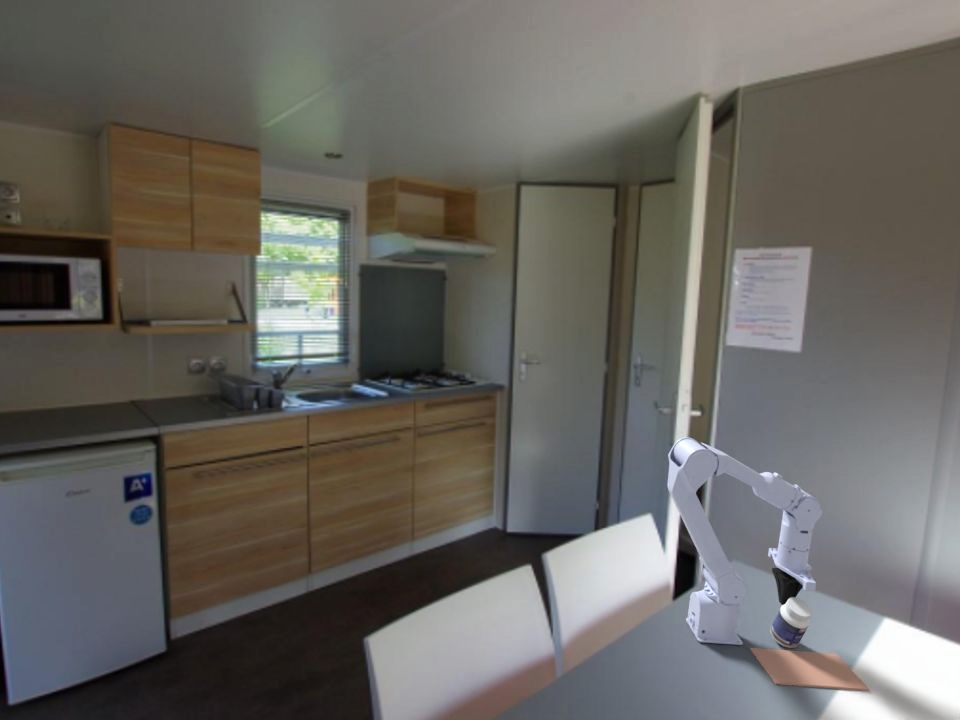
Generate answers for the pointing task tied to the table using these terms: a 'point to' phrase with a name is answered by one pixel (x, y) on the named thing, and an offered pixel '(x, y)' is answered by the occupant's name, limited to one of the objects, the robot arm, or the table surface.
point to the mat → (808, 669)
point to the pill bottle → (791, 622)
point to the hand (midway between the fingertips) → (785, 603)
